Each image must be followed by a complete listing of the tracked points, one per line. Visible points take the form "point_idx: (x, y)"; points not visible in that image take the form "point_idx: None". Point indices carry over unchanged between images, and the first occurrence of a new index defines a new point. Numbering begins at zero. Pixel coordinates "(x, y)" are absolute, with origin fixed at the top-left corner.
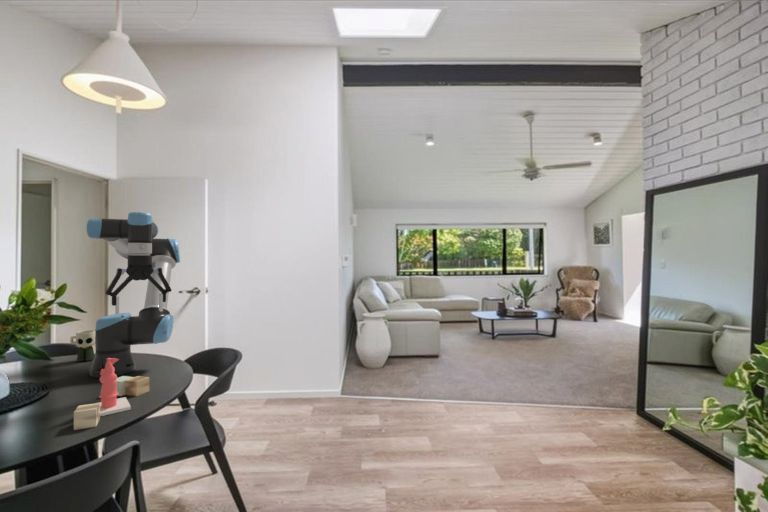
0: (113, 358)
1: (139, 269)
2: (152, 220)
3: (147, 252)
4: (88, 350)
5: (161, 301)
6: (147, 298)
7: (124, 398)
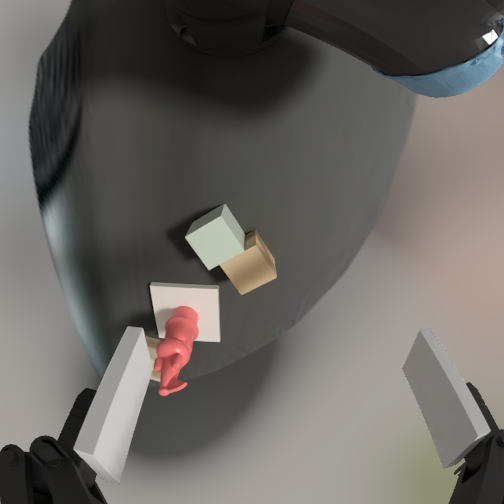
0: (173, 391)
1: None
2: None
3: None
4: None
5: (431, 420)
6: None
7: (214, 296)
